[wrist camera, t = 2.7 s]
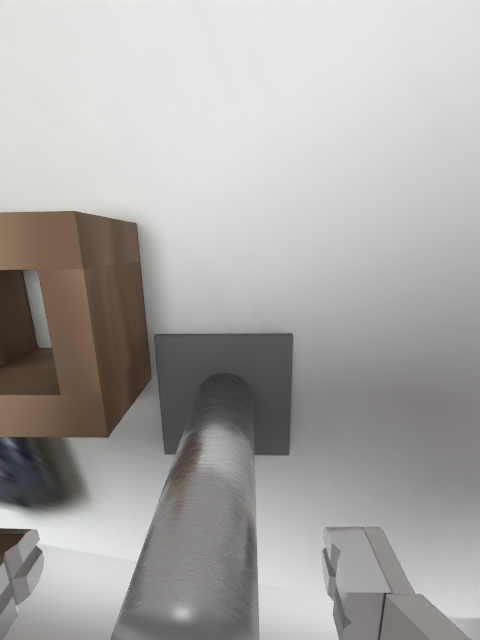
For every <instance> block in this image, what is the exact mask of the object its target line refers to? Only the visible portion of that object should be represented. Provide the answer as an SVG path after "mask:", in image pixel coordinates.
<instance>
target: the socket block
mask: <svg viewBox="0 0 480 640" xmlns="http://www.w3.org/2000/svg"><path fill="white" fill-rule="evenodd" d="M22 270H38V275H39V280H40V285H41V291H42V296H43V302H44V307H45V312H46V318H47V323H48V328H49V334H50V339H51V345H52V348H37V344H36V339H35V334H34V329H33V324H32V319H31V314H30V309H29V304H28V299H27V294H26V289H25V284H24V279H23V274H22ZM150 380H151V369H150V359H149V349H148V339H147V329H146V319H145V308H144V298H143V288H142V278H141V268H140V257H139V247H138V237H137V227H136V223H132V222H126V221H121V220H116V219H111V218H106V217H101V216H96V215H91V214H86V213H81V212H76V211H58V212H5V213H0V437H104V438H108V437H109V435H110V434H111V433H112V431H113V430H114V429H115V427H116V426H117V424H118V423H119V422H120V420H121V419H122V418H123V416H124V415H125V414H126V412H127V411H128V409H129V408H130V407H131V405H132V404H133V403H134V401H135V400H136V399H137V397H138V396H139V395H140V393H141V392H142V390H143V389H144V388H145V386H146V385H147V384H148V382H149V381H150Z"/></svg>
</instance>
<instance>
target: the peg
mask: <svg viewBox="0 0 480 640" xmlns="http://www.w3.org/2000/svg"><path fill="white" fill-rule="evenodd" d="M111 640H259V609H258V570H257V533H256V495H255V458H254V420H253V395H252V391H251V389H250V387H249V385H248V384H247V383H246V382H245V381H244V380H243V379H242V378H240V377H238V376H236V375H233V374H229V373H219V374H215V375H212V376H210V377H208V378H207V379H206V380H204V381H203V382H202V384H201V385H200V387H199V389H198V392H197V395H196V397H195V400H194V403H193V406H192V409H191V412H190V414H189V417H188V420H187V423H186V426H185V429H184V432H183V434H182V437H181V440H180V443H179V446H178V449H177V451H176V454H175V457H174V460H173V463H172V466H171V468H170V471H169V474H168V477H167V480H166V483H165V486H164V488H163V491H162V494H161V497H160V500H159V503H158V505H157V508H156V511H155V514H154V517H153V520H152V522H151V525H150V528H149V531H148V534H147V537H146V539H145V542H144V545H143V548H142V551H141V554H140V557H139V559H138V562H137V565H136V568H135V571H134V574H133V576H132V579H131V582H130V585H129V588H128V591H127V593H126V596H125V599H124V602H123V605H122V608H121V611H120V613H119V617H118V619H117V622H116V625H115V628H114V630H113V633H112V636H111Z"/></svg>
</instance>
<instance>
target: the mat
mask: <svg viewBox="0 0 480 640" xmlns="http://www.w3.org/2000/svg"><path fill="white" fill-rule="evenodd" d="M154 341H155V352H156V363H157V373H158V384H159V395H160V406H161V417H162V428H163V439H164V449H165V454H176V451H177V449H178V446H179V443H180V440H181V437H182V434H183V432H184V429H185V426H186V423H187V420H188V417H189V414H190V412H191V409H192V406H193V403H194V400H195V397H196V395H197V392H198V389H199V387H200V385H201V384H202V382H203V381H204V380H206V379H207V378H208V377H210V376H212V375H215V374H219V373H229V374H233V375H236V376H238V377H240V378H242V379H243V380H244V381H245V382H246V383H247V384H248V385H249V387H250V389H251V391H252V395H253V420H254V455H289V437H290V406H291V375H292V345H293V335H292V334H156V335H155V336H154Z"/></svg>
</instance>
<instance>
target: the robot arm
mask: <svg viewBox="0 0 480 640" xmlns="http://www.w3.org/2000/svg"><path fill="white" fill-rule="evenodd" d="M323 538H324V542H325V546H326V547H325V549H324V550H323V552H322V564H323V574H324V580H325V584H326V589H327V593H328V595H329V596H330V597H331V599H333V601H334V609H333V617H334V621H335V625H336V628H337V632H338V636H339V640H471V639H470V638H469V637H468V636H467V635H466V634H465V633H464V632H462V631H461V630H460V629H459V628H458V627H457V626H456V625H455V624H454V623H452V621H450V620H449V619H448V618H447V617H446V616H445V615H444V614H443V613H442V612H441V611H440V610H438V609H437V608H436V607H435V606H434V605H433V604H432V603H431V602H430V601H429V600H427V599H426V598H425V597H424V596H423V595H422V594H415V592H414V590H413V588H412V586H411V584H410V582H409V580H408V579H407V577H406V575H405V573H404V571H403V569H402V567H401V565H400V563H399V561H398V559H397V557H396V555H395V553H394V551H393V549H392V547H391V545H390V543H389V541H388V539H387V537H386V535H385V533H384V531H383V530H382V529H381V528H380V527H325V529H324V537H323ZM39 539H40V538H39V535H38V531H37V530H34V529H1V528H0V640H3V639H4V637H5V636H6V634H7V632H8V631H9V629H10V627H11V626H12V624H13V623H14V621H15V619H16V618H17V616H18V605H19V604H20V603H21V602H23V601H24V600H25V599H26V598H27V597H29V596H30V595H31V593H32V592H33V590H34V588H35V587H36V585H37V583H38V581H39V578H40V576H41V573H42V570H43V564H44V556H43V552H42V551H41V550H40V549H39V548H38V547H37V546H36V544H37V542H38V541H39Z"/></svg>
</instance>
